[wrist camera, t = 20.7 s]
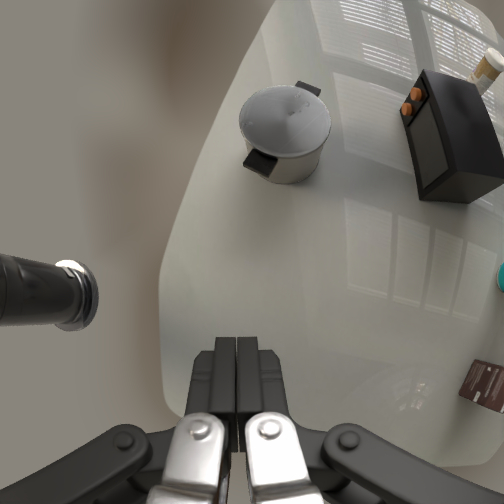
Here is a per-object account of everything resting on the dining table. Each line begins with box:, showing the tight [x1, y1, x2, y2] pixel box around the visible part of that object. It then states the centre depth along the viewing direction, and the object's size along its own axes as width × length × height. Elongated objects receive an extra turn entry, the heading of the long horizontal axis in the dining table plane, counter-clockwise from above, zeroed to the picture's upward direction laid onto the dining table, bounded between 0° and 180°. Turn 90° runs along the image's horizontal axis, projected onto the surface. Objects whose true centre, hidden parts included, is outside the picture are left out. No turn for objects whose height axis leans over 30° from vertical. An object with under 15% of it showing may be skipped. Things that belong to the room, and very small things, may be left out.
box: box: [459, 359, 504, 414], centre depth 28 cm, size 6×6×7 cm
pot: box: [239, 81, 331, 184], centre depth 35 cm, size 14×11×8 cm
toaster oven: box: [400, 69, 504, 204], centre depth 32 cm, size 11×16×11 cm
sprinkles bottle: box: [466, 48, 504, 96], centre depth 32 cm, size 5×5×13 cm
